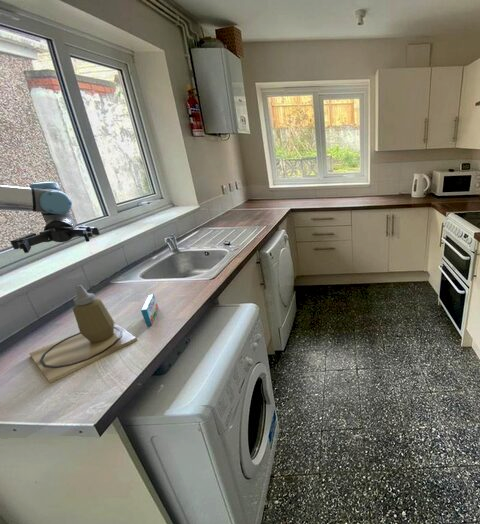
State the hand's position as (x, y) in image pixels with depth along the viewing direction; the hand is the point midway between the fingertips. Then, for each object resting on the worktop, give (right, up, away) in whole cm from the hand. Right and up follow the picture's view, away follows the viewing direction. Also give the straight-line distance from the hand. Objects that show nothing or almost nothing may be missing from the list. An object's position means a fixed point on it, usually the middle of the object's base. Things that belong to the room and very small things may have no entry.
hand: (56, 242), depth 86 cm
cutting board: (+9, -32, 0) cm, 33 cm away
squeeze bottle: (+11, -29, +3) cm, 32 cm away
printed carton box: (+19, -25, +15) cm, 35 cm away
